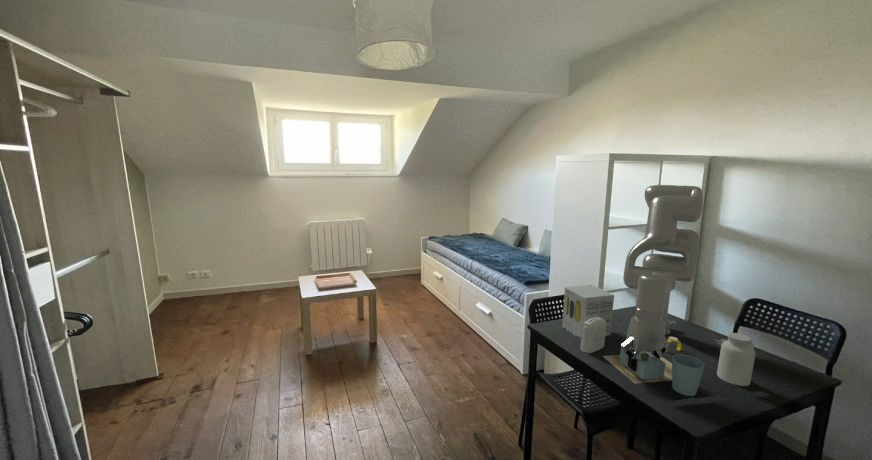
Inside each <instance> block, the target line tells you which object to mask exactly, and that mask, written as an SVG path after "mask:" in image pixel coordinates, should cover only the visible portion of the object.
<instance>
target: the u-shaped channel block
mask: <svg viewBox="0 0 872 460" xmlns="http://www.w3.org/2000/svg"><path fill="white" fill-rule="evenodd" d="M643 352H644V353H647V354H648V355H649V359H648V361H642V360H640V359H639V358H640V353H641V352H639V354H638V355H637V357H636V359H637V366H636V371H633V370H632V371H633V372H634V373H636V374H637V375H638V376H639V377H641V378H642V379H647V378H657V377H664V371H665V363H664V362H663V361H661V360H660V359H659V358H657V357H655V356H654V355H652V354H651V353H650V352H651V351H643ZM633 353H634V351H633V352H632V354H633ZM619 355H620V361H621V362H622V363H623V364H624V365H626V366H627V365H628V355H627V354H626V353H625V352H624V350H623V349H622V348H621V347H620V354H619ZM627 367H628V366H627ZM628 368H629V367H628ZM629 369H630V368H629Z"/></svg>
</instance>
